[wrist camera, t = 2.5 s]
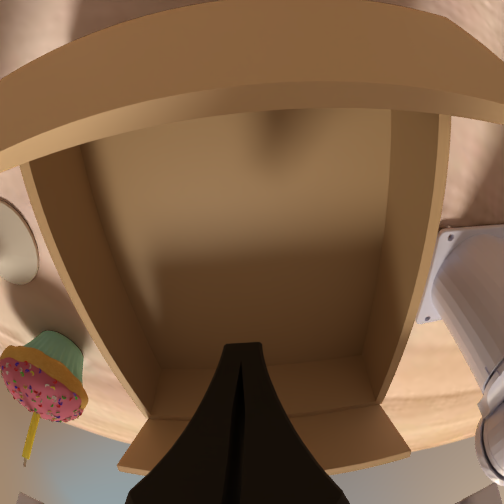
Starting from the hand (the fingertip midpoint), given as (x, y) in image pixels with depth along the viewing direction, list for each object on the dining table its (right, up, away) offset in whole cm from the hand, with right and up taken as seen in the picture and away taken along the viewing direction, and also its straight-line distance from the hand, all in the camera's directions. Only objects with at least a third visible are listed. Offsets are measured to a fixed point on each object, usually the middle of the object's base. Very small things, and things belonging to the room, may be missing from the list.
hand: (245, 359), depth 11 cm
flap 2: (+1, -7, +4) cm, 9 cm away
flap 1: (-1, +9, -6) cm, 10 cm away
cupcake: (-17, -4, +12) cm, 21 cm away
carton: (0, +5, +6) cm, 7 cm away
